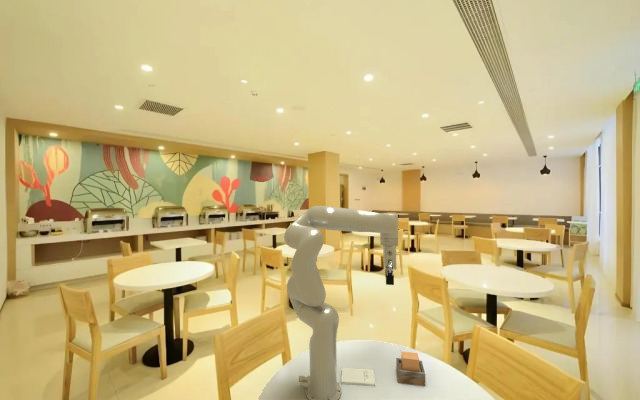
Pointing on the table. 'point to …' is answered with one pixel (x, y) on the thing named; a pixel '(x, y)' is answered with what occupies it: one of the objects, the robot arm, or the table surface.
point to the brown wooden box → (410, 374)
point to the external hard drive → (358, 377)
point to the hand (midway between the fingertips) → (389, 280)
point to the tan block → (410, 361)
